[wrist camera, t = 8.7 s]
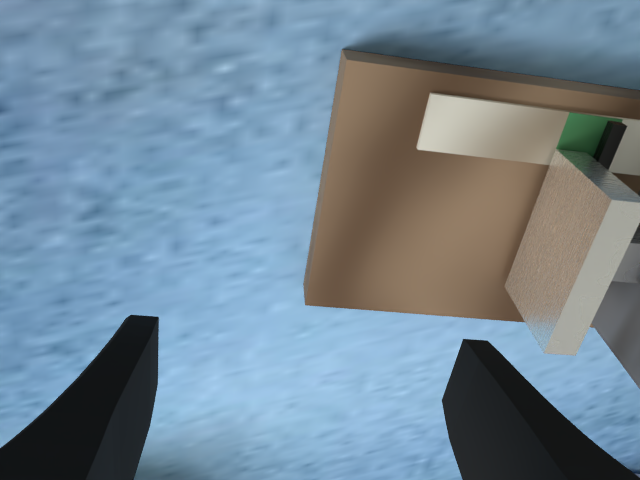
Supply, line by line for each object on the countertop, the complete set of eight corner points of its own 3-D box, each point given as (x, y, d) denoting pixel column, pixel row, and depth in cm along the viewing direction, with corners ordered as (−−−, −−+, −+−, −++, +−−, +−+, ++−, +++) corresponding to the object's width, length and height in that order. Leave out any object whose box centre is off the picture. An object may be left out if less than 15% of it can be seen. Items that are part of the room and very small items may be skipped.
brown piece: (840, 118, 23) (1020, 190, 18) (717, 318, 28) (827, 424, 22) (342, 49, 20) (368, 108, 15) (303, 284, 25) (312, 394, 20)
